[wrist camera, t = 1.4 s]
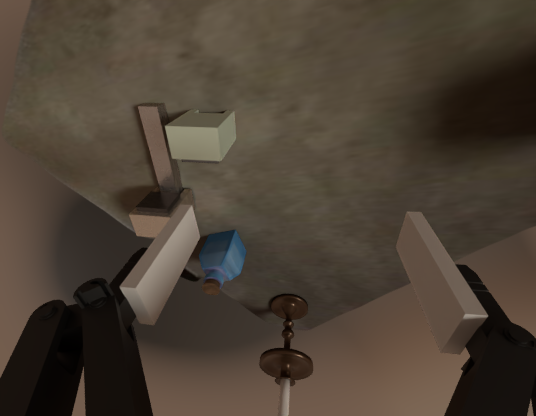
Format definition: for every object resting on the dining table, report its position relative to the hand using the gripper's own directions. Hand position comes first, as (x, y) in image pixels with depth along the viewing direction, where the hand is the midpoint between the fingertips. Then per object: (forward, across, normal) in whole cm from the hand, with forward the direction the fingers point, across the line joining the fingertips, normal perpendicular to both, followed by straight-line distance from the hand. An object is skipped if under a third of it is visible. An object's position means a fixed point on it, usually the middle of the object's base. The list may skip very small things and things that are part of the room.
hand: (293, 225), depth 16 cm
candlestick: (+27, -2, -46) cm, 53 cm away
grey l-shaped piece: (+26, -23, -9) cm, 36 cm away
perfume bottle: (+27, -15, -26) cm, 40 cm away
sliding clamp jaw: (+27, -14, -1) cm, 30 cm away
